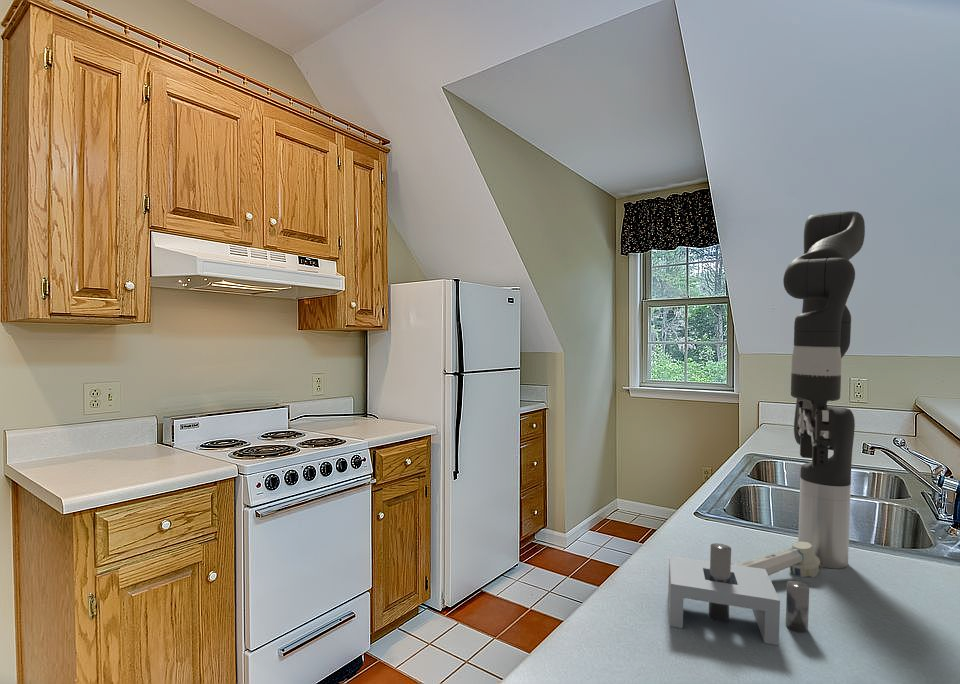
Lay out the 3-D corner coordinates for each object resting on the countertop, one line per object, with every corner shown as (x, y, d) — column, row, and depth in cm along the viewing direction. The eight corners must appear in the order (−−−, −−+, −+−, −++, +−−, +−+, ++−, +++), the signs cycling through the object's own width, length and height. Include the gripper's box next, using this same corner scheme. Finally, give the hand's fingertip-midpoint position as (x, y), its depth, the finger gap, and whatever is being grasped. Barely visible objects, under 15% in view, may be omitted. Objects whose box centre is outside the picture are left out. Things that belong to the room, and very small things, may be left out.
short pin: (784, 620, 92) (785, 579, 92) (805, 624, 91) (806, 582, 91) (787, 630, 89) (789, 588, 89) (810, 634, 88) (811, 591, 88)
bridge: (668, 593, 101) (669, 555, 101) (764, 608, 96) (765, 569, 96) (669, 625, 90) (670, 583, 90) (778, 645, 85) (780, 600, 85)
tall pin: (707, 610, 95) (709, 542, 95) (727, 614, 94) (729, 544, 94) (709, 619, 92) (711, 549, 92) (730, 623, 91) (732, 551, 91)
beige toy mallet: (710, 564, 106) (800, 531, 115) (713, 598, 106) (802, 562, 115) (732, 576, 101) (824, 540, 110) (735, 611, 101) (827, 572, 111)
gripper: (853, 376, 89) (850, 475, 89) (828, 369, 102) (825, 455, 103) (801, 374, 91) (798, 471, 92) (783, 368, 105) (781, 452, 105)
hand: (812, 462), depth 97 cm, fingers open, 8 cm apart
